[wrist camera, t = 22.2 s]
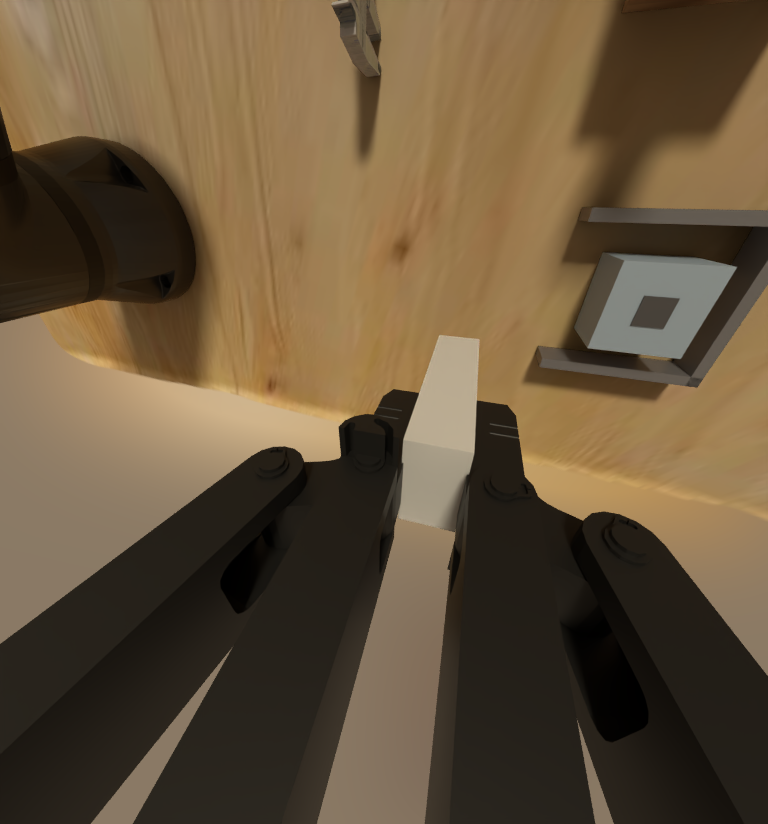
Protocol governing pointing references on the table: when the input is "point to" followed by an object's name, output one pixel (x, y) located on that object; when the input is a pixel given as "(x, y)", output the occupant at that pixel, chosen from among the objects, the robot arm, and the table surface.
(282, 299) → the table surface
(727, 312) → the corral
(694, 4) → the bore block
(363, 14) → the caliper
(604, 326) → the block
